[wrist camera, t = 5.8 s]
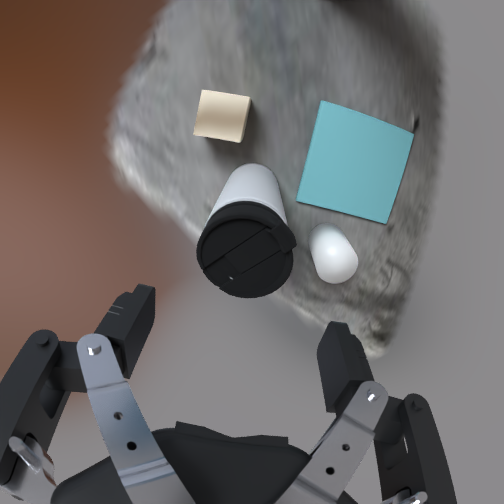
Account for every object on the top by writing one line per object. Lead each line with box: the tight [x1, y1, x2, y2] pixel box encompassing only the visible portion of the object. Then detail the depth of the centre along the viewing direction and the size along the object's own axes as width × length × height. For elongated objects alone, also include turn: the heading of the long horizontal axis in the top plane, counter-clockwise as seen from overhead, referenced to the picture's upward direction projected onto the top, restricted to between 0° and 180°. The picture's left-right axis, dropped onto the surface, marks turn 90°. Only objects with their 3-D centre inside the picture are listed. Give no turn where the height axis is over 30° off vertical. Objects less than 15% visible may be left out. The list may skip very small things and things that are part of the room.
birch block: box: [193, 90, 251, 143], centre depth 30 cm, size 5×5×5 cm
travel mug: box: [196, 163, 297, 298], centre depth 27 cm, size 6×7×20 cm
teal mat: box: [296, 100, 414, 224], centre depth 33 cm, size 13×13×1 cm
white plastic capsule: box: [308, 223, 358, 284], centre depth 35 cm, size 5×5×7 cm
